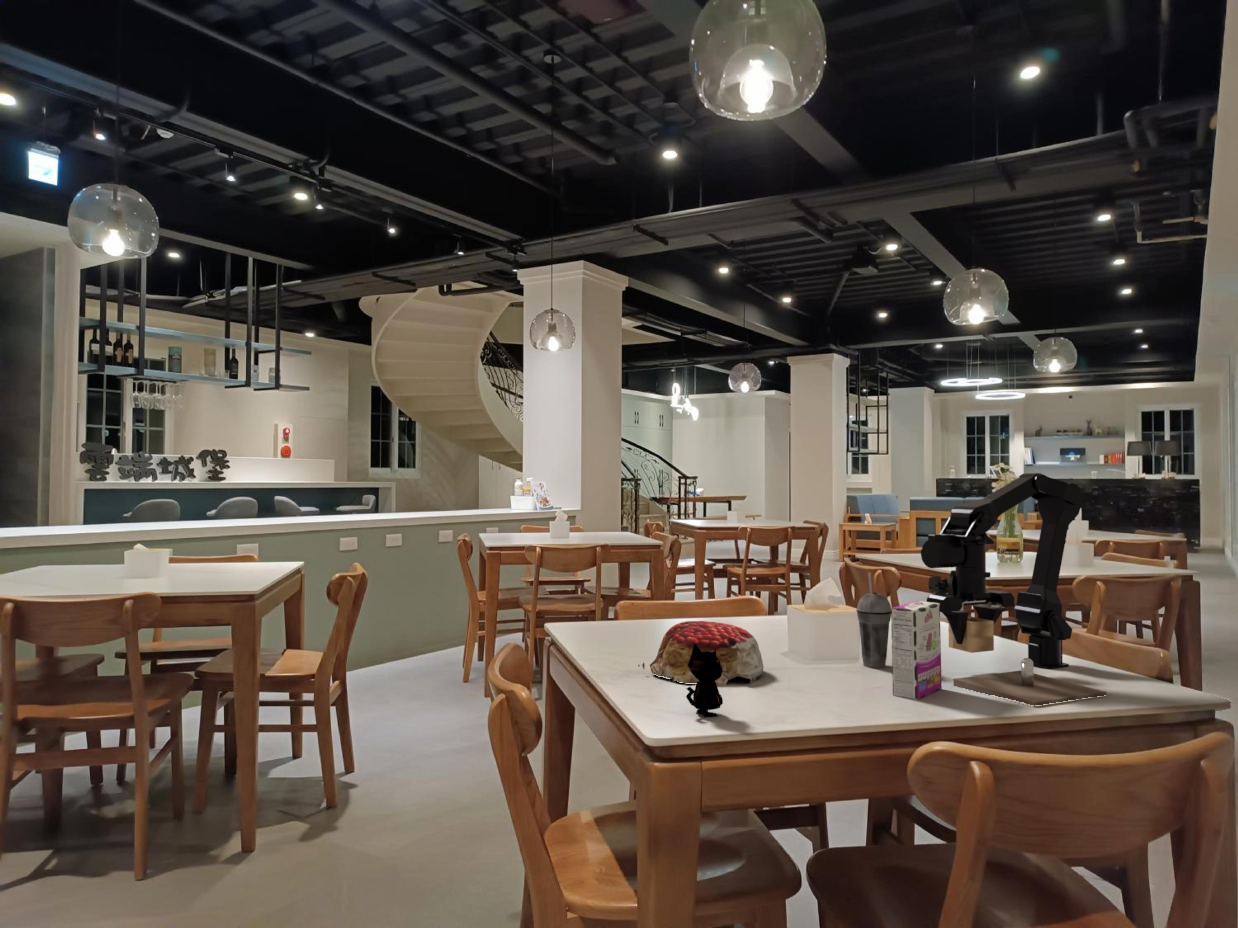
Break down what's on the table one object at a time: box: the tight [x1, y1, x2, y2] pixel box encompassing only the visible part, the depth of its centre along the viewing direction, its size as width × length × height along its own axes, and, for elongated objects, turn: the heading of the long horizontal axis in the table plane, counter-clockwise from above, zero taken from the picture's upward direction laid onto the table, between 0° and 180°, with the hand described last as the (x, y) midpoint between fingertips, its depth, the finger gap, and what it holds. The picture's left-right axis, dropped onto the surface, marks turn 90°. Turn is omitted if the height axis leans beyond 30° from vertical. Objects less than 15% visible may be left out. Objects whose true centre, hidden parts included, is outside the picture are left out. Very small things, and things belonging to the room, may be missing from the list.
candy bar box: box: [890, 600, 943, 701], centre depth 151 cm, size 11×5×16 cm, turn 136°
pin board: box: [953, 657, 1108, 706], centre depth 151 cm, size 18×18×6 cm
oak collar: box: [948, 615, 995, 654], centre depth 167 cm, size 6×6×6 cm
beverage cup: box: [856, 571, 892, 669], centre depth 173 cm, size 7×7×20 cm
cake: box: [637, 620, 764, 686], centre depth 167 cm, size 23×24×10 cm
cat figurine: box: [685, 643, 728, 718], centre depth 135 cm, size 7×7×12 cm
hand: (971, 642), depth 167 cm, fingers closed on oak collar, 6 cm apart
